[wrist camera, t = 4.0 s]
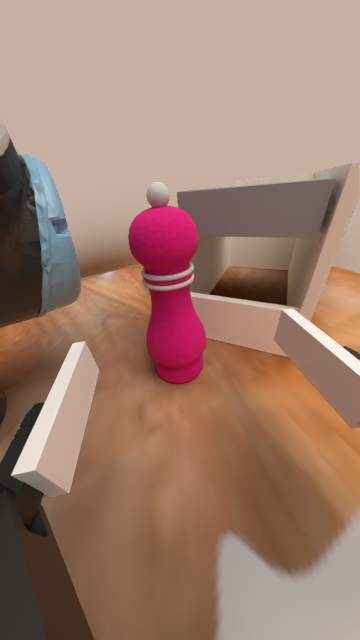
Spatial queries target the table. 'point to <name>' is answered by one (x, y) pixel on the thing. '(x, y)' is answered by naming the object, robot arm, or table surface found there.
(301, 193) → the trapdoor
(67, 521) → the table surface
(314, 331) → the robot arm
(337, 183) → the frame
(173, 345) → the pepper mill
